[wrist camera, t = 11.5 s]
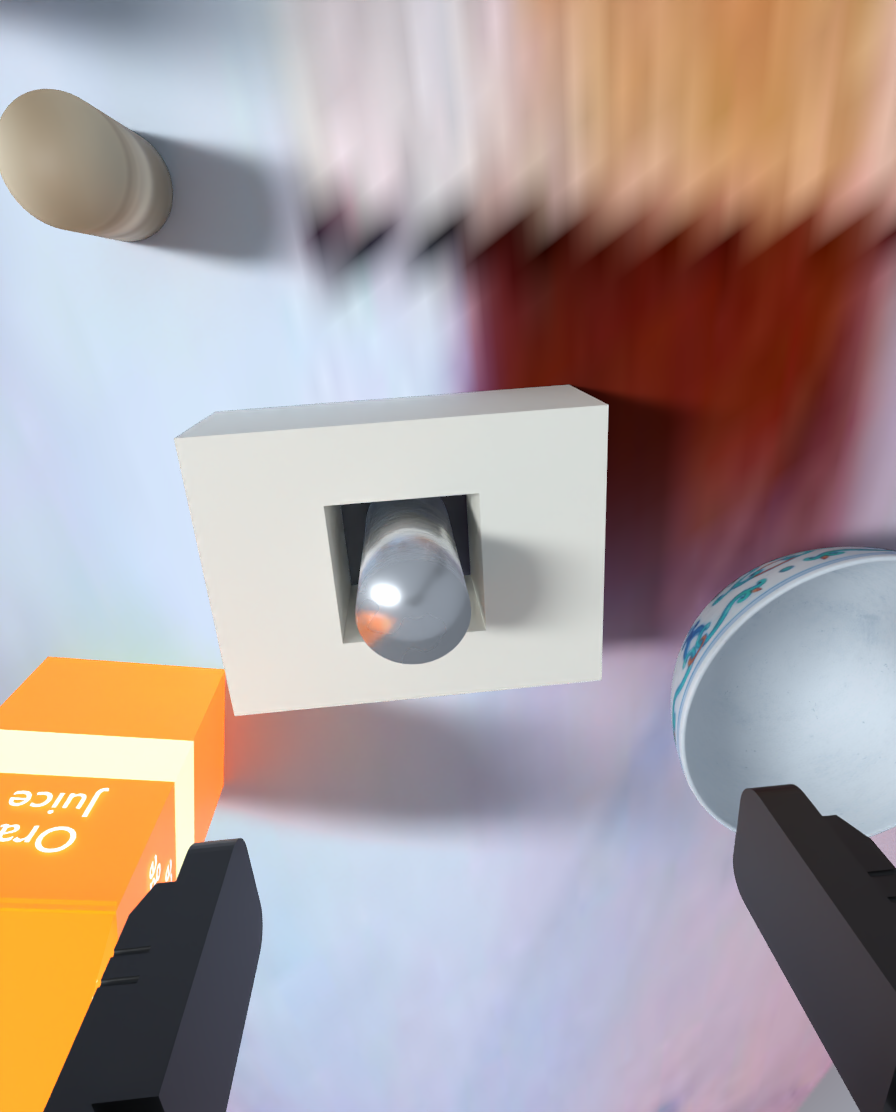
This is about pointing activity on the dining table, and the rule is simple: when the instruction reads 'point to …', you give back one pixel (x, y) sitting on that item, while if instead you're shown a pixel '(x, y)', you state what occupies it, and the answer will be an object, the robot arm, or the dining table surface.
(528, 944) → the dining table surface
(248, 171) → the dining table surface
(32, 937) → the orange juice
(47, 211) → the short pin
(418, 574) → the long pin
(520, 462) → the hole block
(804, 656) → the chinaware
